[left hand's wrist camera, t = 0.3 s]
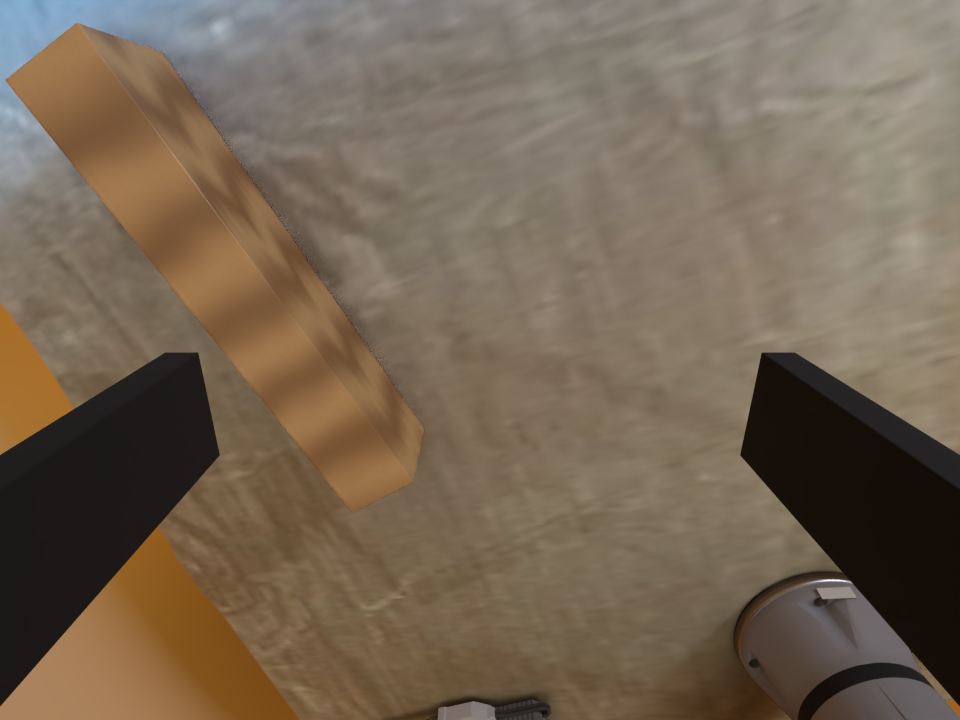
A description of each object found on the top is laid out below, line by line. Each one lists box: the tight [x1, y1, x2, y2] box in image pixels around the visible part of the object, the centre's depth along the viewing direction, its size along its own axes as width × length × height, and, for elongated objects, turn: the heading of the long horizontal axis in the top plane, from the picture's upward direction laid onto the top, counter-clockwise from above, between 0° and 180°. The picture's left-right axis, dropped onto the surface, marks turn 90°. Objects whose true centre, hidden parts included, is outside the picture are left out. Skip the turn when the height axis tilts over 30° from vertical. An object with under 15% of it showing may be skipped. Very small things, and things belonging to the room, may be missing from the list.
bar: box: [6, 23, 424, 513], centre depth 38 cm, size 34×6×8 cm, turn 30°
